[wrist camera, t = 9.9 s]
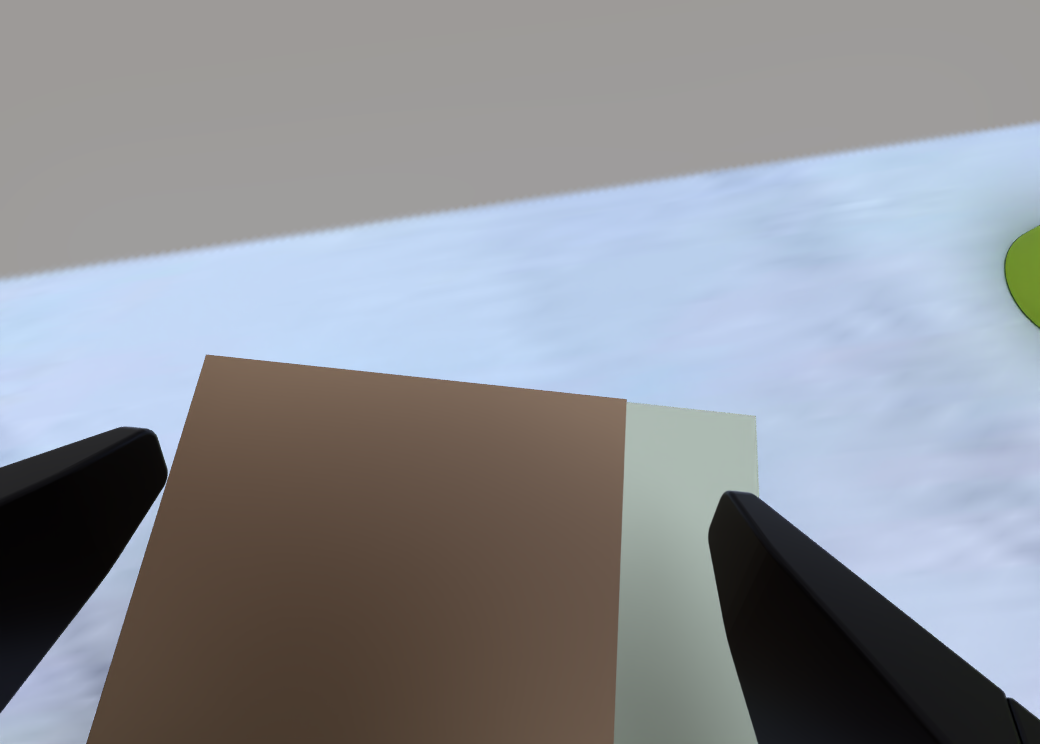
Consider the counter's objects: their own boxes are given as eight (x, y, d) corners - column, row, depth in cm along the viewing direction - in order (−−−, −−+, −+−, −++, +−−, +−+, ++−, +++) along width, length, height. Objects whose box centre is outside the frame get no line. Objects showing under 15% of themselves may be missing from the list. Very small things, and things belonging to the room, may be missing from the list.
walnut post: (528, 623, 16) (606, 947, 4) (391, 608, 16) (41, 888, 4) (540, 482, 17) (627, 399, 5) (414, 469, 17) (205, 355, 5)
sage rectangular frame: (717, 431, 19) (755, 415, 16) (722, 731, 16) (770, 777, 13) (257, 382, 19) (213, 357, 16) (178, 673, 16) (107, 707, 13)
